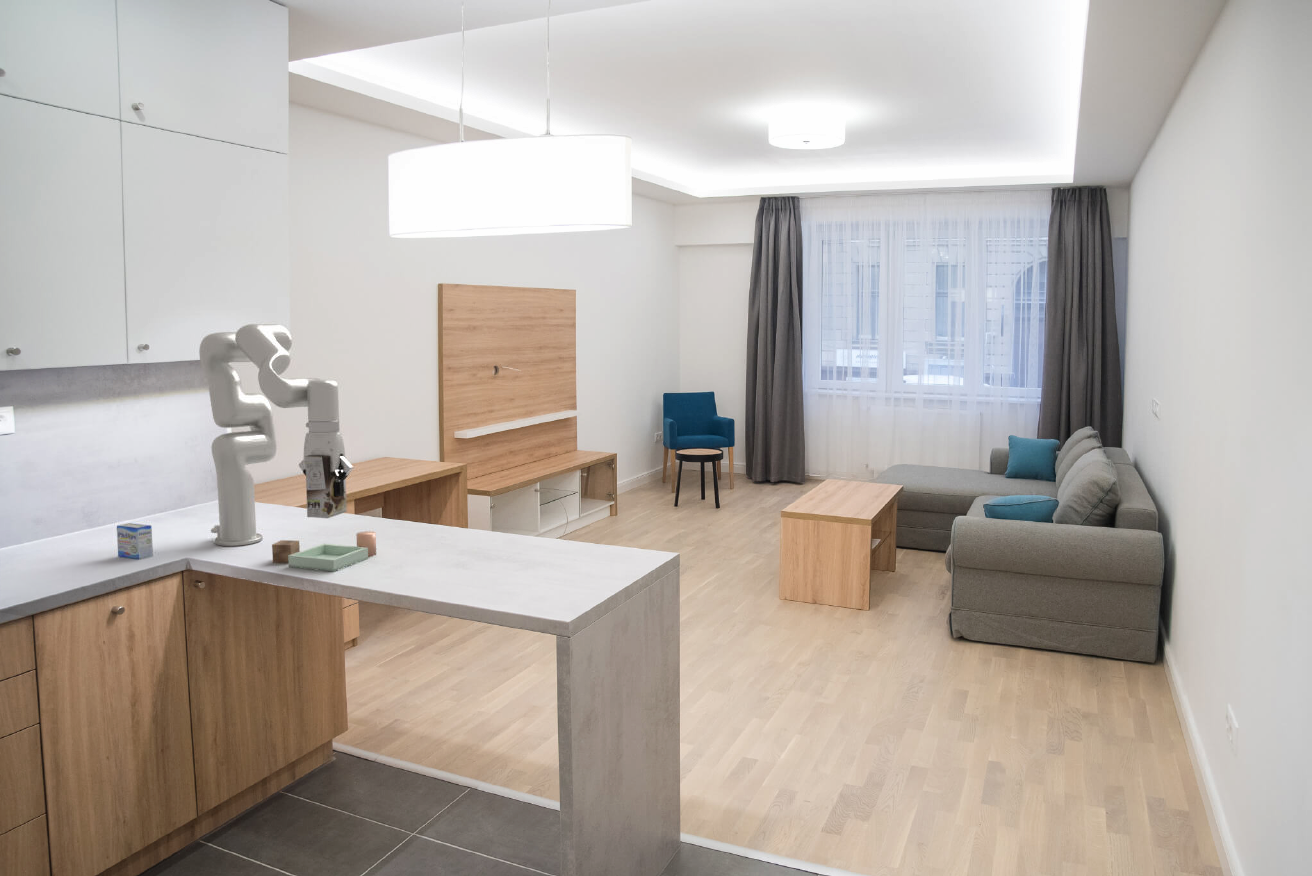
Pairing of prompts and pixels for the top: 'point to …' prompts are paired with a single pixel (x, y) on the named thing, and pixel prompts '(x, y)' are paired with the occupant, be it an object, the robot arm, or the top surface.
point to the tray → (328, 557)
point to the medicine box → (134, 541)
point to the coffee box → (322, 489)
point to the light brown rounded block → (367, 541)
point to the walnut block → (284, 550)
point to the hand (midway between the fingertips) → (326, 494)
